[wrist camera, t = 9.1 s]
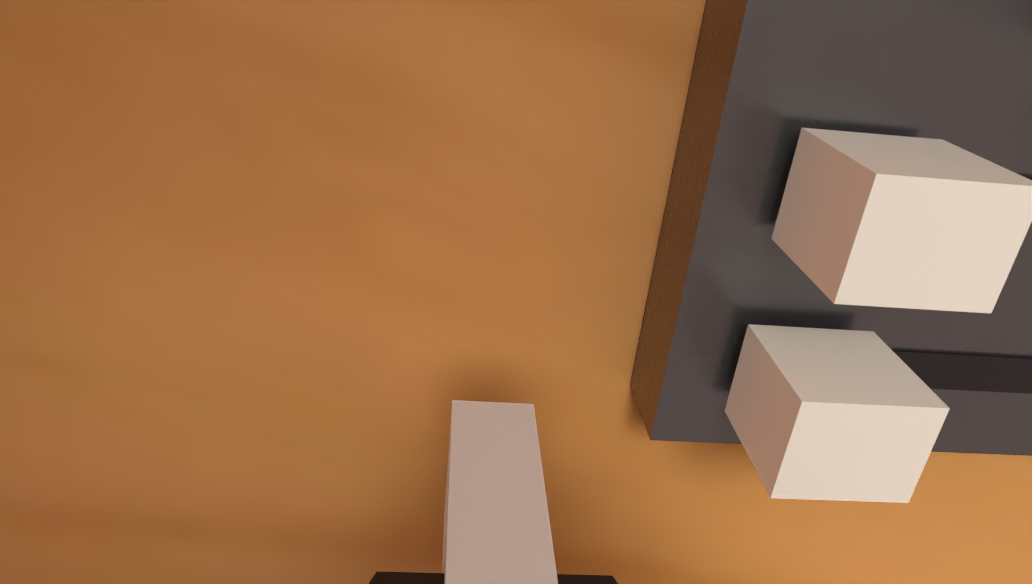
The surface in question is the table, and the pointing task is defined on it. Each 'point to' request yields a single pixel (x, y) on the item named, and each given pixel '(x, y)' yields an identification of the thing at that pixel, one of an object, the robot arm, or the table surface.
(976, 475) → the table surface
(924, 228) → the switch
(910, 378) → the switch
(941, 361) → the switch panel
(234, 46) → the table surface
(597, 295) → the table surface
